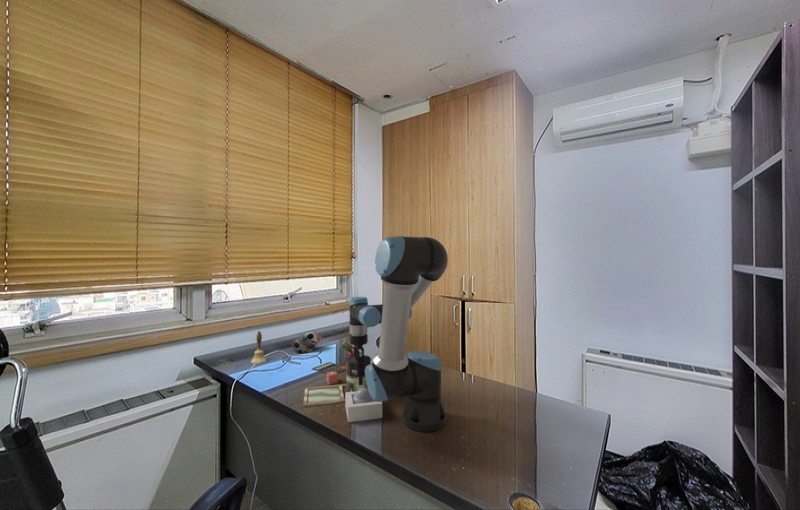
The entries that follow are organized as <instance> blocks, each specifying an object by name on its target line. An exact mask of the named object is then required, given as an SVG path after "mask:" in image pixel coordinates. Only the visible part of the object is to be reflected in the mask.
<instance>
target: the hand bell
mask: <svg viewBox="0 0 800 510" xmlns="http://www.w3.org/2000/svg"><path fill="white" fill-rule="evenodd" d="M262 336H263V334H262V331H257V333H256V344H257V346H256V350H255V351H254V354H253V357H252V359H251V361H250V363H251V364H253V365H256V364H257V365H258V364H262V363H266V362H267V361H268V359H267V357H265V352H264V350H263V349H262V347H261V345H262V339H263V338H262Z"/></svg>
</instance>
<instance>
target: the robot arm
mask: <svg viewBox="0 0 800 510" xmlns="http://www.w3.org/2000/svg"><path fill="white" fill-rule="evenodd" d="M374 260H375V261H374V263H375V270H376V273H377V274H378V275H379V276H380V280H381V281H382V282H383V284H384V292H383V293H384V294H383V303H382V304H369V302H368V298H367V296H352V297H350V299H349V305H348V307H349V344H350V345H352V346H353V347H354V348H353V349H354V356H355V359H356V360H357V363H358V365H357V375H356V377H357V391H358V390H359V389H360V388H364V376H365V378H366V384H367V387H368V390H369V393H370V395H371V397H372V398H373V400H375V401H376V402H381V401H382V402H388V401H390V400H394V399H398V398H404V397H407V399H406V401H405V405H404V408H403V411H402V422H403V424H404V425H405V426H406V427H407V428H409V429H411V430H413V431H418V432H426V433H429V432H434V431H438V430H440V429H442V428H443V427H444V426H445V425H446V424H447V423H446V422H447V414H446V410H445V408H444V404H443V401H442V372H443V371H442V362H441V358H440V357H439V356H437V355H436V354H435V353H434V354H433V353H431V352H426V351H419V350H418V351H417V350H415V351H414V350H413V351H410V352H408V354H407V355H405V353H406V345H407V337H408V328H409V320H410V319H411V317H412V314H413V313H412V312H413V311H412V308H413V307H414V305H416V303H417V302H418V300H419V299H420V298H421V297H422V296H423V294H424V293H425V292H426V291H427V290H428V288H429V287H430V286H431V285H432V283H433V282H437V281H438V280H440V279H441V277H442V276H443V274H444V273H445V272H446V270H447V268H448V263H449V257H448V253H447V249H446V248H445V245H443V244H442V243H441V242H440V241H439V240H437V239H435V238H433V237H429V236H421V237H420V236H401V235H400V236H399V235H396V236H387V237H384V238H383V239H381V242H379V244H378V246H377V249H376V253H375V257H374ZM378 324H379V325H380V331H379V332H380V333H379V343H378V351H377V352H376V353H375V354H374V355H373V358H372V363H371V364H372V365H371V364H369V365H368V366H366V368H365V374H364V355H365V348H364V345H366V344H367V343H369V342H368V341H369V340H368V339H369V336H368V328H372V327H373V328H374V327H375V326H378ZM361 373H362V374H361Z"/></svg>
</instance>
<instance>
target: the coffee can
mask: <svg viewBox="0 0 800 510" xmlns="http://www.w3.org/2000/svg"><path fill="white" fill-rule="evenodd" d="M347 357H348V356H347ZM347 357H346V359H345V360H346V367H347V370H346V384H347V387H346V389H345V391H346V392H355V391H357V377H356V375H357V365H358V363H357V360H356V359H355V356H350V357H348V358H347ZM371 362H372V357H370V356H368V355H365V354H364V374H365V368H366V366H368V365H369V364H372V363H371ZM361 374H362V373H361ZM364 388H367V389H368V387H367V384H366V378H365V376H364ZM346 392H345V393H346Z"/></svg>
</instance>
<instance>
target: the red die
mask: <svg viewBox="0 0 800 510" xmlns="http://www.w3.org/2000/svg"><path fill="white" fill-rule="evenodd" d="M325 375H326V377H325V378H326V381H325V382H326V383H327V384H328V386H330V385H336V384H338V383H339V379H338V378H339V377H338V376H339V373H338V374H337V373H336V372H335V371H333V372H328V373H326V374H325Z"/></svg>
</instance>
